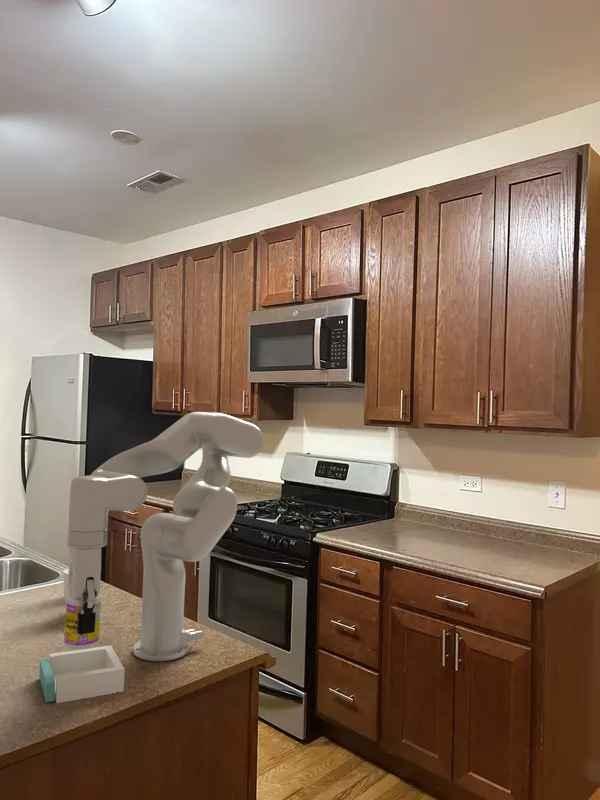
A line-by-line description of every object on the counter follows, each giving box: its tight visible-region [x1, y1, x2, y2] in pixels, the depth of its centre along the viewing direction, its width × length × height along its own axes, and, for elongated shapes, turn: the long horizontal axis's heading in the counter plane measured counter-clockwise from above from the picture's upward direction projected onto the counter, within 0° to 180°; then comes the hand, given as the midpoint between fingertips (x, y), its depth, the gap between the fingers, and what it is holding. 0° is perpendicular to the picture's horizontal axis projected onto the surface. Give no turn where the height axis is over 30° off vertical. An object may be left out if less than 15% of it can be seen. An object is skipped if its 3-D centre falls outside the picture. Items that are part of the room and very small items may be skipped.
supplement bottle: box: [63, 593, 102, 651], centre depth 127 cm, size 7×7×13 cm
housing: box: [48, 644, 125, 704], centre depth 127 cm, size 12×13×4 cm
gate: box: [38, 658, 55, 703], centre depth 124 cm, size 2×12×4 cm, turn 28°
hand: (82, 625), depth 127 cm, fingers closed on supplement bottle, 6 cm apart
